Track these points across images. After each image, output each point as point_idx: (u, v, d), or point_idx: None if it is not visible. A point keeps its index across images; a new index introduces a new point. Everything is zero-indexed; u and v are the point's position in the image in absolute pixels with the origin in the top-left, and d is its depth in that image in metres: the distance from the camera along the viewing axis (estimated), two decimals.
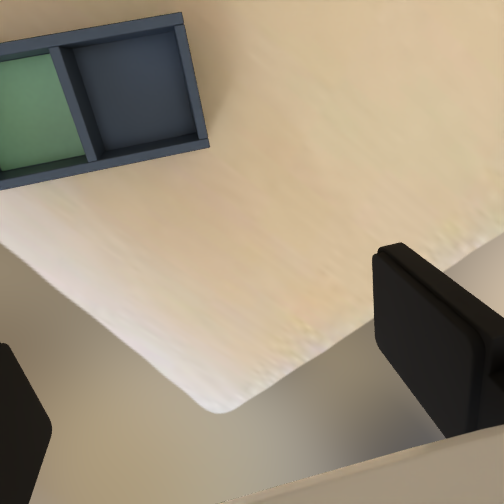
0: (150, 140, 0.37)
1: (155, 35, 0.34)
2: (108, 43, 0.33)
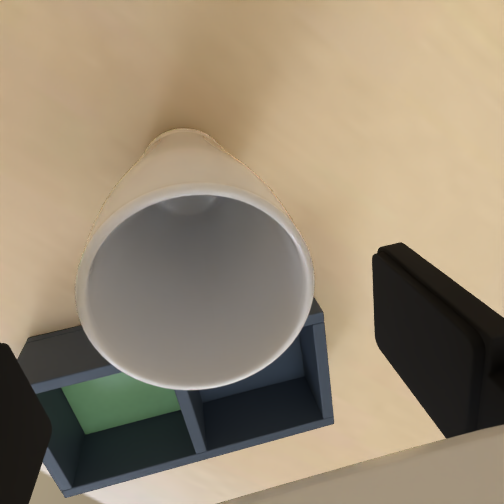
0: (253, 388, 0.32)
1: None
2: None
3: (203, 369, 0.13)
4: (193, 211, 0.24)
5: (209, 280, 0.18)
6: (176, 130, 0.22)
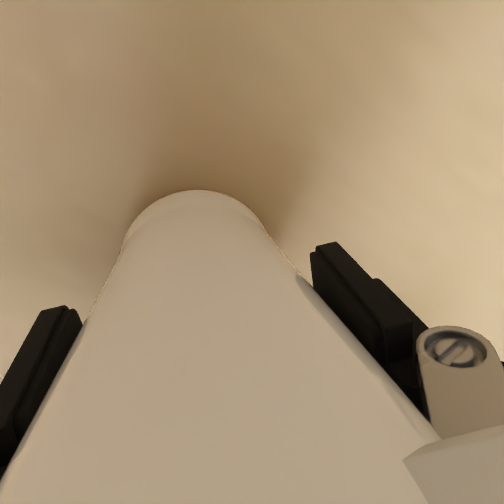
0: None
1: None
2: None
3: None
4: None
5: None
6: (183, 197, 0.12)
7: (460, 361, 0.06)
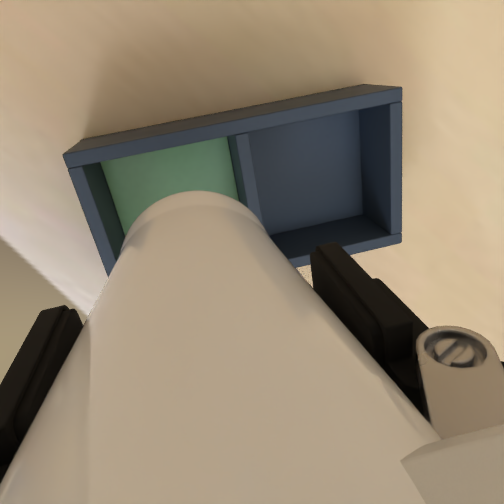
0: (309, 224, 0.30)
1: None
2: None
3: None
4: None
5: None
6: (183, 198, 0.12)
7: (460, 361, 0.06)
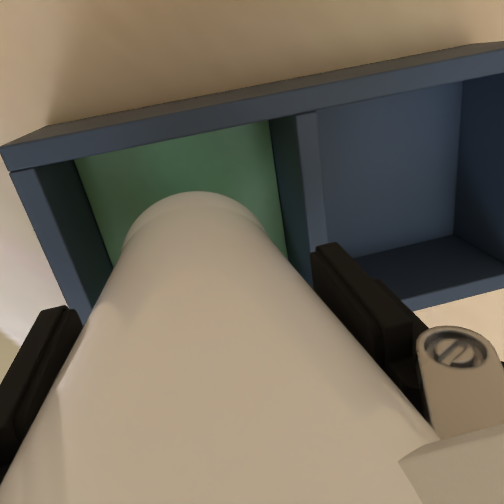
0: (378, 249, 0.21)
1: None
2: None
3: None
4: None
5: None
6: (183, 198, 0.12)
7: (460, 361, 0.06)
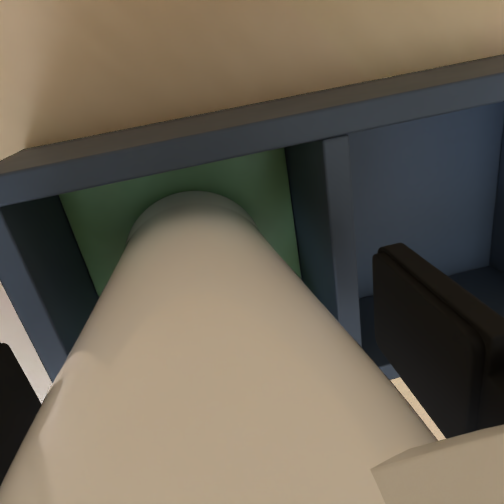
0: None
1: None
2: None
3: None
4: None
5: None
6: (181, 197, 0.14)
7: None
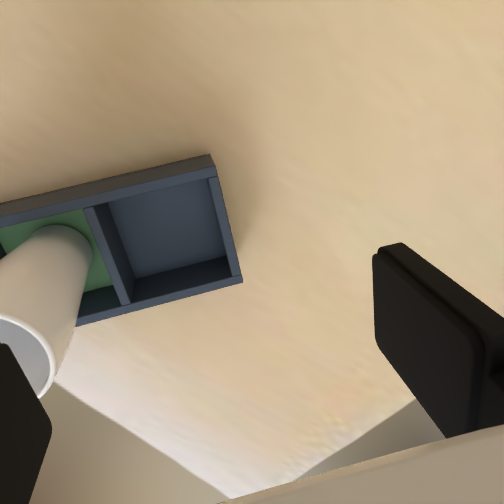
0: (180, 265, 0.37)
1: None
2: None
3: None
4: None
5: None
6: (44, 228, 0.31)
7: None
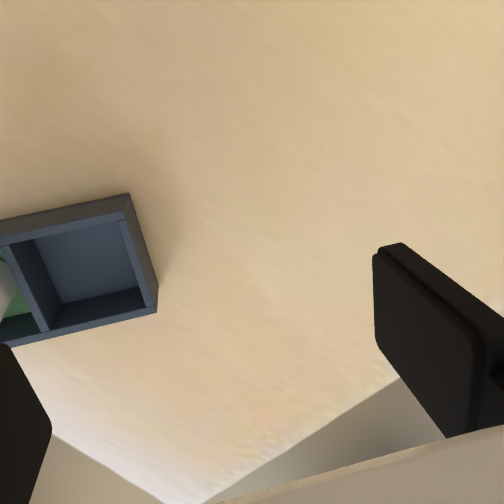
0: (105, 292, 0.39)
1: None
2: None
3: None
4: None
5: None
6: None
7: None
